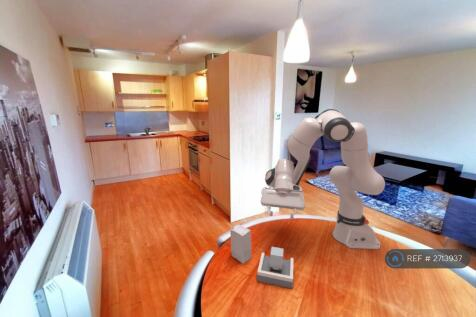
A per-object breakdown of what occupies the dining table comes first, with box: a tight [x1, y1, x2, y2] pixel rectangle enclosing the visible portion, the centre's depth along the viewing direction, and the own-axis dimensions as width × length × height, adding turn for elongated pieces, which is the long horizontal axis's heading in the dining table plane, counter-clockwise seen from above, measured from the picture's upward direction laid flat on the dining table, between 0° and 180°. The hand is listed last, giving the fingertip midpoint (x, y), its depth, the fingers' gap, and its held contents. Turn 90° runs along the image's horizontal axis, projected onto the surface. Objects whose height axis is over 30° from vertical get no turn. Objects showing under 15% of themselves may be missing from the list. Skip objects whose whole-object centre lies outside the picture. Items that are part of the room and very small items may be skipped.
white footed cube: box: [269, 246, 285, 272], centre depth 89 cm, size 5×6×8 cm
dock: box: [256, 252, 294, 289], centre depth 90 cm, size 14×12×4 cm
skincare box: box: [229, 224, 252, 265], centre depth 99 cm, size 8×6×15 cm
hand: (281, 216), depth 96 cm, fingers open, 8 cm apart
